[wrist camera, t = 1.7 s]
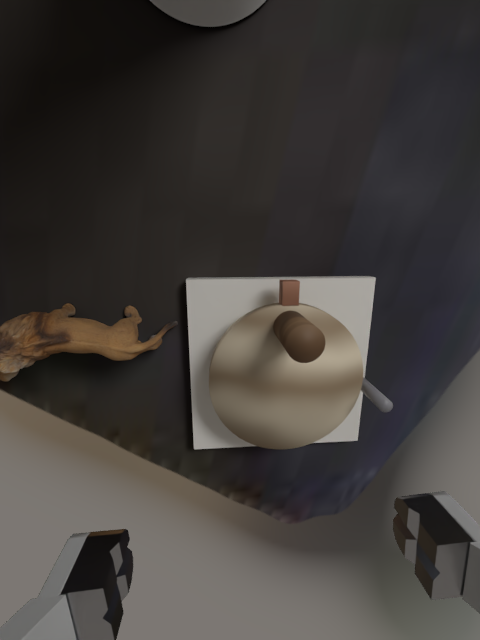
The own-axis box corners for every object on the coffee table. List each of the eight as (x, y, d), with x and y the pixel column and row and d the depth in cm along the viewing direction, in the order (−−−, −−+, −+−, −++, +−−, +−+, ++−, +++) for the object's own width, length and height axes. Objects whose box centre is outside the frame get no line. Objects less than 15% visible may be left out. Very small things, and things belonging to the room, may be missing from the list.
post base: (187, 277, 30) (178, 288, 22) (368, 276, 31) (414, 285, 24) (194, 440, 34) (189, 492, 27) (351, 432, 36) (386, 480, 29)
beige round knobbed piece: (206, 280, 27) (203, 291, 20) (365, 278, 28) (409, 288, 21) (211, 443, 31) (209, 494, 25) (349, 436, 32) (381, 482, 26)
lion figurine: (37, 353, 30) (-34, 397, 22) (26, 303, 29) (-55, 328, 20) (180, 343, 31) (167, 381, 23) (175, 294, 30) (158, 314, 21)
